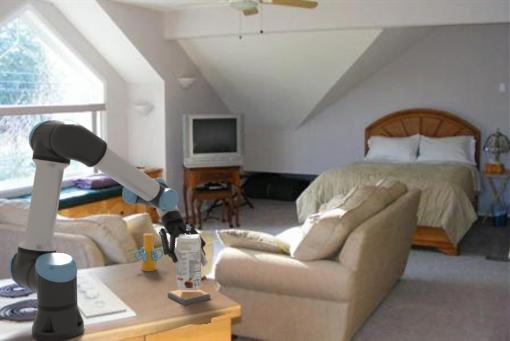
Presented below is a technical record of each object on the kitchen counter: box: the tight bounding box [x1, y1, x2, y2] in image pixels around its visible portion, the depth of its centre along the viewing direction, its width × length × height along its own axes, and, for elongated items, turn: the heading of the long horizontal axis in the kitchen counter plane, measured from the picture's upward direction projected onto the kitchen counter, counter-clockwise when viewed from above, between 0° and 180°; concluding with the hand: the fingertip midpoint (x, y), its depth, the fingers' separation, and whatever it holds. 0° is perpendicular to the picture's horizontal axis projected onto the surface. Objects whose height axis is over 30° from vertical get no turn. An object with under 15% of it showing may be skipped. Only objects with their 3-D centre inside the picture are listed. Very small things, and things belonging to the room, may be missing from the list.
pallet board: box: [167, 288, 211, 306], centre depth 214 cm, size 11×11×2 cm
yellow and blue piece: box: [133, 232, 164, 272], centre depth 246 cm, size 12×10×15 cm
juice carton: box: [175, 233, 202, 290], centre depth 212 cm, size 8×9×19 cm
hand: (193, 266), depth 210 cm, fingers closed on juice carton, 9 cm apart
